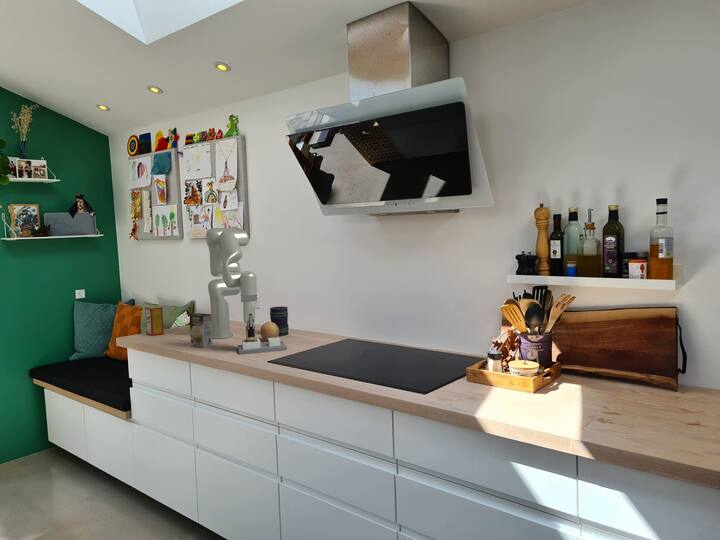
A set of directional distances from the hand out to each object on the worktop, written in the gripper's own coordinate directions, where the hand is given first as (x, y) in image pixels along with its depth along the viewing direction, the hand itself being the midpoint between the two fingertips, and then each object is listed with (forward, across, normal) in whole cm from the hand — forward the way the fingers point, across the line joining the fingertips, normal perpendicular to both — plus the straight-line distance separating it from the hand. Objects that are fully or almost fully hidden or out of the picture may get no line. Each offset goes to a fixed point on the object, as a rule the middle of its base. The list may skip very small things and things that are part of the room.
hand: (250, 335), depth 242 cm
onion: (+7, -18, +11) cm, 22 cm away
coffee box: (+7, -20, -23) cm, 31 cm away
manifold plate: (+7, 0, +5) cm, 9 cm away
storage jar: (+7, -32, +18) cm, 37 cm away
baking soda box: (+7, -64, -49) cm, 81 cm away
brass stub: (+6, 0, 0) cm, 6 cm away
